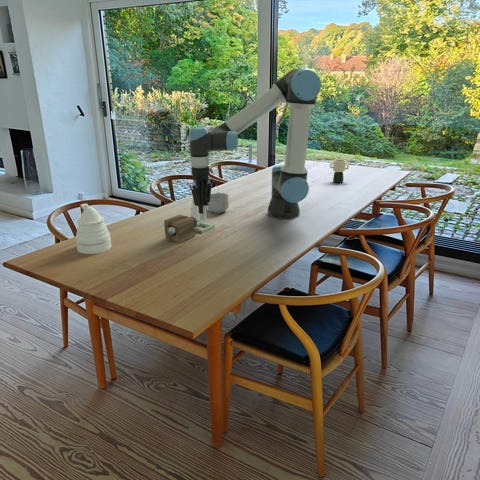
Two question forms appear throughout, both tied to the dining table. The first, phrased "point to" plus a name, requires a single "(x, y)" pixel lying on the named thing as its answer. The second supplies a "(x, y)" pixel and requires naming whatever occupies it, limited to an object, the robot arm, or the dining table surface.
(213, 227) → the keeper socket
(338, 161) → the trophy cup
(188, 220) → the bearing block
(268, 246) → the dining table surface
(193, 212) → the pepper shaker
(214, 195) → the teacup
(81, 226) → the honey pot
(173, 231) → the shaft
